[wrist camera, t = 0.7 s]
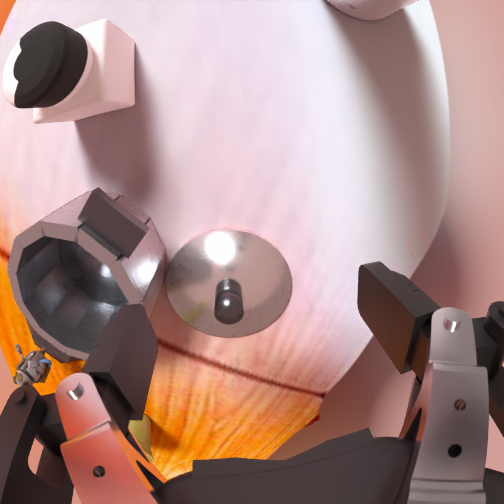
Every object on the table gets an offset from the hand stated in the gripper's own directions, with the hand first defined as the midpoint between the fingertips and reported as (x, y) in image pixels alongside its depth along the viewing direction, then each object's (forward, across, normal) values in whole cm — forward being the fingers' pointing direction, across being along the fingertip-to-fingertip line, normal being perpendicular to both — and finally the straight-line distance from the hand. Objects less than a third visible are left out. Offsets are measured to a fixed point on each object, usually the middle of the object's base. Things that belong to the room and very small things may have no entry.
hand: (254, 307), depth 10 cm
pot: (+18, +15, +3) cm, 24 cm away
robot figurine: (+20, +30, +14) cm, 38 cm away
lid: (+19, +2, +9) cm, 21 cm away
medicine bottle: (+18, +11, -15) cm, 25 cm away
